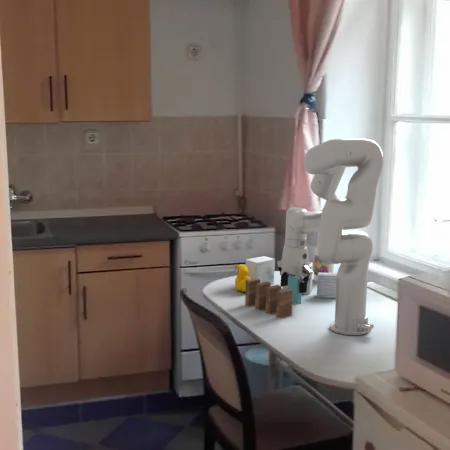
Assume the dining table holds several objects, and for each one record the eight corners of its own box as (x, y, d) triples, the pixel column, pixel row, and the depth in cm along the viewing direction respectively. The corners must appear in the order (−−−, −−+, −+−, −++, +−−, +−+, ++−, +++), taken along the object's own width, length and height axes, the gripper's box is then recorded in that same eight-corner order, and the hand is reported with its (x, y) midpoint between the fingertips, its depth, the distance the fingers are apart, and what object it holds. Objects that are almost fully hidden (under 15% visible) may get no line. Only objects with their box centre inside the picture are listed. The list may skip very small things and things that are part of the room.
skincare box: (255, 288, 265) (256, 262, 263) (244, 285, 270) (244, 259, 268) (274, 284, 272) (275, 258, 270) (263, 281, 277) (263, 255, 275)
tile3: (269, 307, 242) (270, 282, 240) (259, 310, 239) (259, 284, 237) (266, 306, 243) (266, 281, 242) (255, 308, 240) (255, 283, 239)
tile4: (259, 303, 246) (260, 279, 244) (248, 306, 243) (249, 281, 241) (256, 302, 248) (256, 278, 246) (245, 304, 245) (245, 280, 243)
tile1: (291, 315, 233) (292, 289, 232) (280, 318, 230) (281, 292, 229) (287, 314, 235) (288, 288, 233) (276, 316, 232) (277, 290, 230)
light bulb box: (281, 292, 261) (282, 264, 259) (284, 287, 267) (285, 260, 266) (310, 294, 259) (311, 266, 257) (312, 289, 265) (313, 262, 263)
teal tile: (291, 300, 251) (292, 275, 250) (301, 303, 247) (301, 278, 246) (287, 300, 250) (288, 276, 248) (296, 304, 246) (297, 279, 244)
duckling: (229, 287, 266) (229, 262, 264) (241, 286, 269) (242, 261, 267) (242, 295, 256) (243, 269, 254) (255, 293, 258) (256, 267, 257)
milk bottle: (322, 277, 284) (324, 229, 280) (336, 281, 278) (339, 232, 274) (309, 280, 279) (311, 231, 275) (323, 284, 273) (325, 234, 269)
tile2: (280, 311, 237) (281, 286, 236) (269, 314, 234) (270, 288, 233) (276, 310, 239) (277, 284, 237) (265, 312, 236) (266, 287, 234)
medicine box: (338, 295, 258) (339, 272, 256) (338, 298, 254) (339, 275, 252) (316, 294, 259) (317, 272, 257) (317, 298, 254) (317, 275, 253)
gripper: (320, 246, 240) (318, 293, 244) (286, 236, 254) (284, 281, 257) (305, 249, 236) (302, 297, 239) (271, 239, 249) (269, 284, 253)
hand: (293, 289), depth 248 cm, fingers open, 9 cm apart
